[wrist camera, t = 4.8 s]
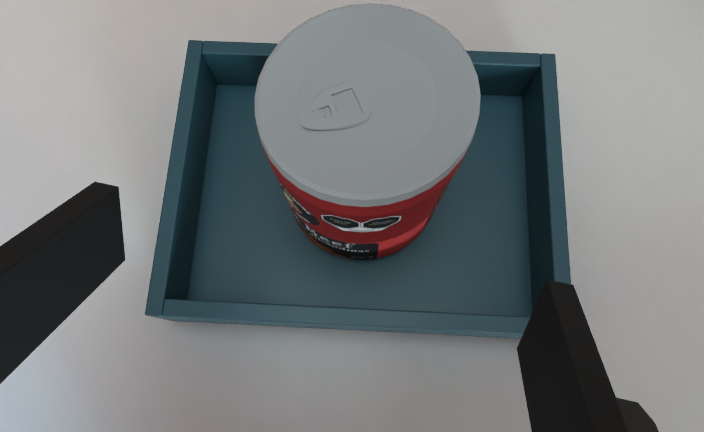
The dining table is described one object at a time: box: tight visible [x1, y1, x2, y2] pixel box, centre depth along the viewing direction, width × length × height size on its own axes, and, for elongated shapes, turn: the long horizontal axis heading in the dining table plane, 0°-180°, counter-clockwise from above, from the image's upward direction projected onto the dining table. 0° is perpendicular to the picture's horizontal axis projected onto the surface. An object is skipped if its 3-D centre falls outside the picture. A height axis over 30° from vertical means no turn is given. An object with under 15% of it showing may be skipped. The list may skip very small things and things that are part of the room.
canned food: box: [255, 4, 481, 260], centre depth 23 cm, size 8×8×11 cm
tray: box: [145, 40, 571, 338], centre depth 26 cm, size 20×15×4 cm
